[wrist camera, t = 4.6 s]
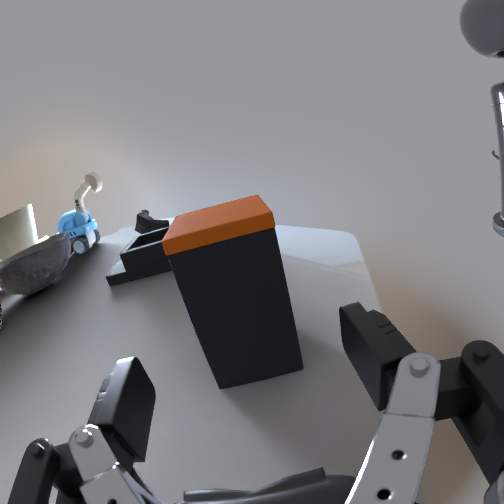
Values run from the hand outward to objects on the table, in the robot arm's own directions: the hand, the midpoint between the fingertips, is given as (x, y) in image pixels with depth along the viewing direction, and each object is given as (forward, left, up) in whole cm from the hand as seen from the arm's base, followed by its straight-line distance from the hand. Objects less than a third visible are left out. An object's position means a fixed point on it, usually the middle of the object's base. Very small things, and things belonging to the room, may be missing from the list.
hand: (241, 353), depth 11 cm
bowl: (+9, -53, -6) cm, 54 cm away
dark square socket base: (-11, -37, -6) cm, 39 cm away
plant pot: (+13, -75, -6) cm, 77 cm away
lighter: (-17, -52, -6) cm, 55 cm away
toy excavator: (-5, -68, -6) cm, 69 cm away
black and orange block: (-4, -6, -6) cm, 10 cm away
